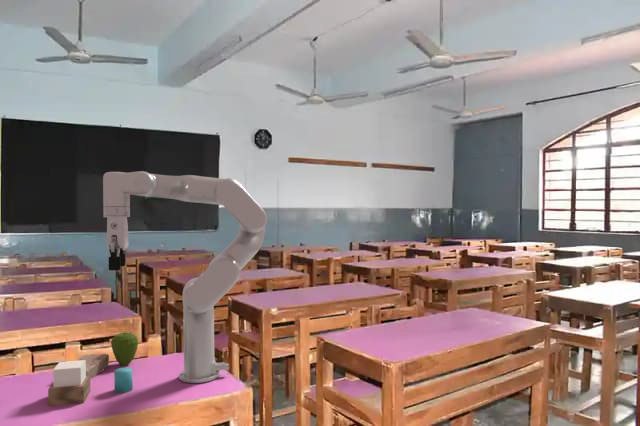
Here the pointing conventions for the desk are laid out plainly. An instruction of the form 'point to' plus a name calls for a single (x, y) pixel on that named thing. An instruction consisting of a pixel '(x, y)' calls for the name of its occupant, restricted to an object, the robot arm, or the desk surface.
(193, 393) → the desk surface
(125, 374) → the cylinder
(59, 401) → the tower base
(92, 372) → the brick
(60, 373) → the tower top
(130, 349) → the green egg shape
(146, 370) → the desk surface
